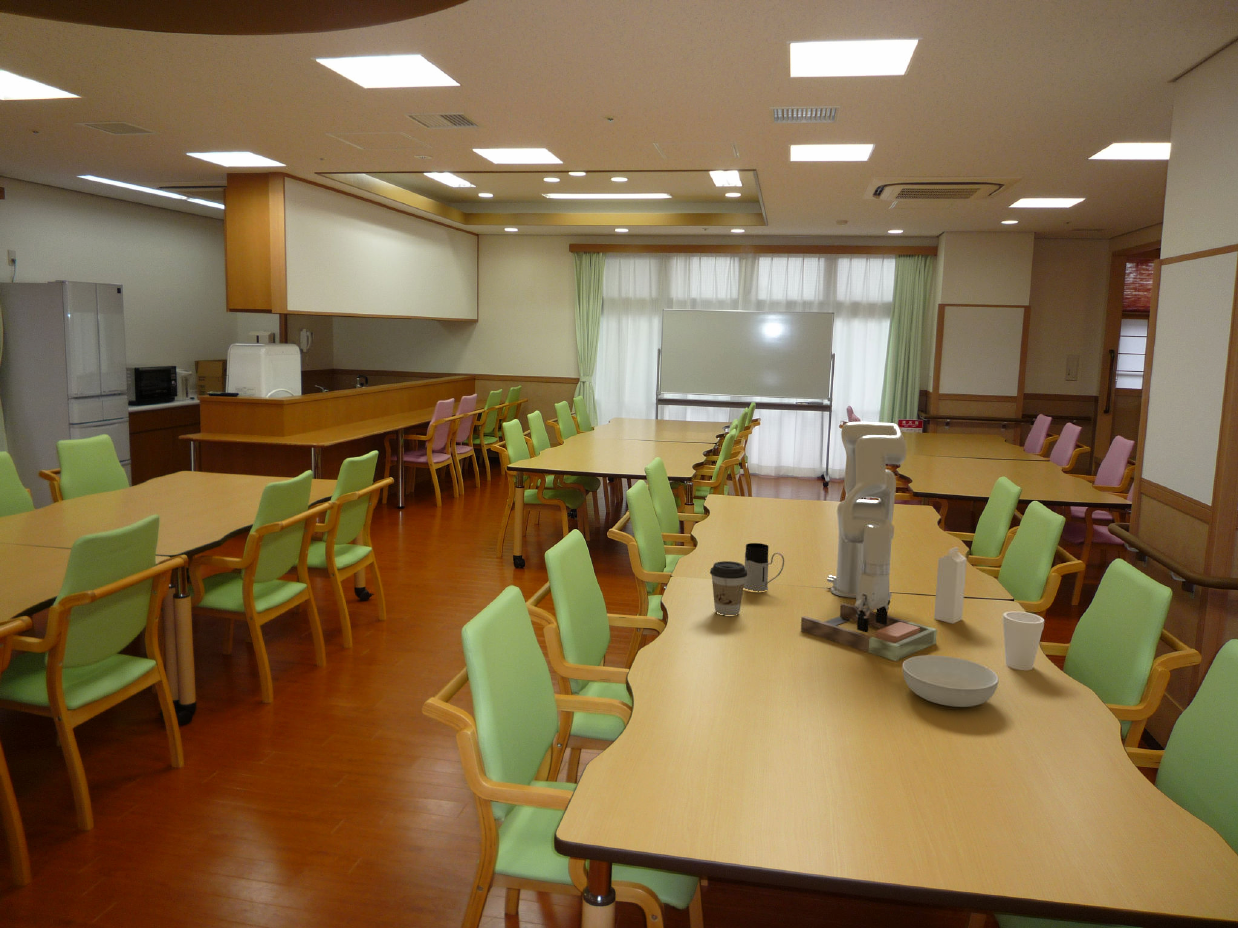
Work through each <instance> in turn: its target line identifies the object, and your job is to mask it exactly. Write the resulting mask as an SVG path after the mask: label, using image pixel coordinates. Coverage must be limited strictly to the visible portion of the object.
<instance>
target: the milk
mask: <svg viewBox="0 0 1238 928" xmlns="http://www.w3.org/2000/svg"><path fill="white" fill-rule="evenodd" d="M967 560H968V559H967V558H966V557H965V556H964V555H962V553H960V552H959V547H958V546H956V547H952V548H951V549H948V554H947V555H944V556H942V557H938V560H937V561H938V562H937V575H936V585H935V587H936V589H935V601H934V614H933V615H934V617H933V619H934V620H937V621H940V622H945V623H949V624H956V623H957V622H960V621H962V620H963V610H964V598H965V586H966V574H967V573H966V572H967Z"/></svg>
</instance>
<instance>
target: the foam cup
mask: <svg viewBox="0 0 1238 928" xmlns="http://www.w3.org/2000/svg"><path fill="white" fill-rule="evenodd" d="M1001 624H1002V625H1003V641H1004V642H1003V643H1004V658H1005V660H1004V661H1005V666H1007V667H1009V668H1011V669H1014V670H1019V671H1031V670H1032V669H1033V668H1034V665H1035V661H1036V656H1037V653H1038V648H1039V645H1040V640H1041V636H1042V633H1043V630H1044V628H1045V627H1044V626H1045V619H1044V618H1043V617H1042V616H1040V615H1038V614H1036V613H1035V614H1034V613H1030V612H1025V611H1019V610H1018V611H1016V610H1015V611H1006V612H1004V613H1003V614H1002V623H1001Z"/></svg>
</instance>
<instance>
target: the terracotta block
mask: <svg viewBox="0 0 1238 928" xmlns="http://www.w3.org/2000/svg"><path fill="white" fill-rule="evenodd" d="M919 632H920V627H917V626H913V625H910V624H906V623H903V622H898V623H895V624H893V625H890V626H888V627H885V628H882V629H878V630H876V634H875V638H878V639H881V640H884V641H888V642H891V643H894V644H895V643H897V642H900V641H902V640H904V639H907V638H909V637H911V636H914V635H916V634H919Z"/></svg>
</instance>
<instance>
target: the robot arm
mask: <svg viewBox="0 0 1238 928" xmlns="http://www.w3.org/2000/svg"><path fill="white" fill-rule="evenodd" d="M840 435H841V441H842V443H843V447H844V451H845V456H846V457H845V468H844V469H845V471H844V482H843V483H844V487H843V489H844V491H845V493H846V497H845V498H844V499H843V500H842V501H840V503H839V504H837V505H838V506H837V509H836V512H837V513H836V514H837V523H838V524H837V525H838V545H837V561H836V563H837V564H836V576H835V575H830V574H829V575H828V577H827V580H826V582H828V583H832V586H831V588H830V592H831V593H833V595H835V596H839V597H843V598H850V599H856V602H855V604H854V606H855V609H856V613H857V617H858V620H857V622H856V630H857V631H859V632H863V633H868V632H869V627H870V626H869V618H868V615H869V613H870V611H875V610H876V611H875V612H876V622H877V623H880V624H883V625H886V624H887V615H888V612H889V610H890V607H889V606H890V604H891V599H892V595H893V593H892V592H890V570H891V559H892V558H891V557H892V556H891V555H892V542H893V538H894V535H895V527H894V525H893V520H894V519H893V518H894V510H895V509H894V507H895V500H896V499H895V498H896V490H897V489H896V487H897V483H896V482H897V481H896V475H895V473H894V471H891V470H890V469H887V465H902V464H903V463H904V462H905V460H906V458H907V443H906V439H905V436H904V435H903V431H902V430H901V427H900V426H899V424H896V423H892V422H873V421H852V422H851V421H850V422H846V423H844V424H843V426H842V428H841V433H840ZM865 498H867V499H865ZM868 498H869V499H868ZM870 498H871V499H870ZM877 499H878V500H877ZM863 610H866V612H865V613H864V611H863Z"/></svg>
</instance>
